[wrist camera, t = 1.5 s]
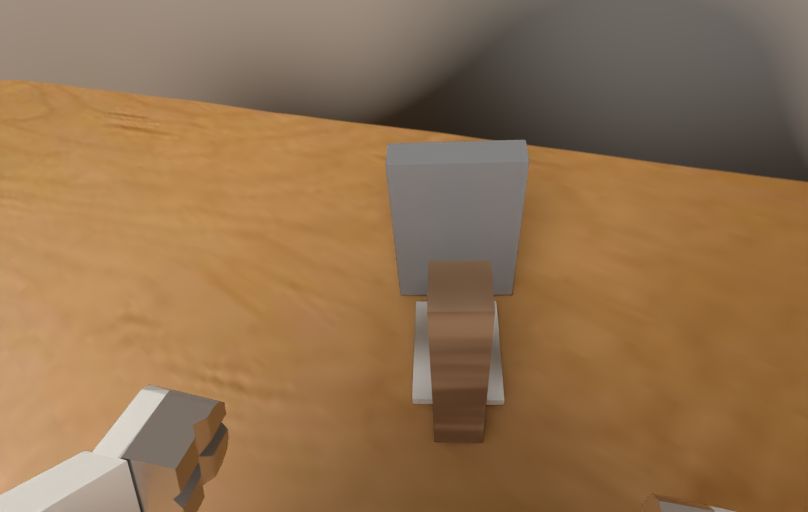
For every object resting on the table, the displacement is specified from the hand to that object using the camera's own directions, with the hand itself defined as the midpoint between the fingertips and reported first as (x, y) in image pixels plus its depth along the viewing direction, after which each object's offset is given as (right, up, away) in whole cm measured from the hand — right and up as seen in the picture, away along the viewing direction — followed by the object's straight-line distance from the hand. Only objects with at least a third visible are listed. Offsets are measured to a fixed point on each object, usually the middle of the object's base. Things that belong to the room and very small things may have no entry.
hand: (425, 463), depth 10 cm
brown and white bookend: (+3, -3, +25) cm, 25 cm away
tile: (+3, +2, +30) cm, 30 cm away
